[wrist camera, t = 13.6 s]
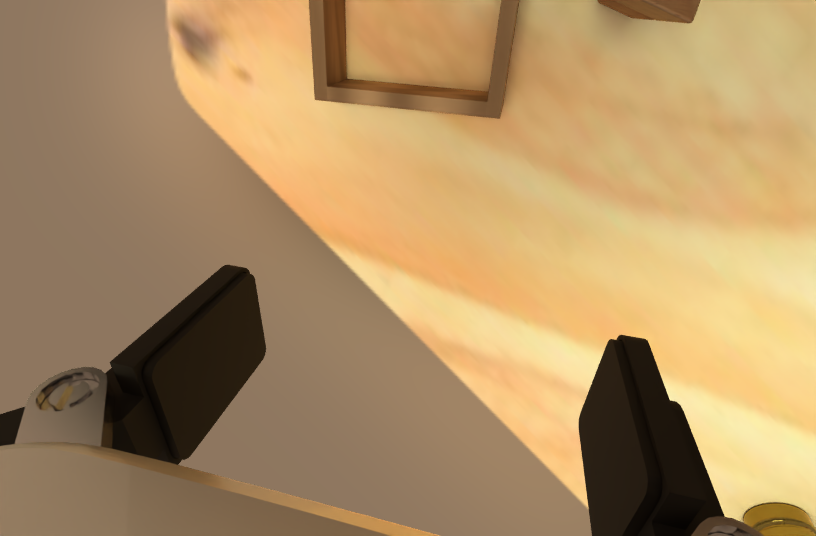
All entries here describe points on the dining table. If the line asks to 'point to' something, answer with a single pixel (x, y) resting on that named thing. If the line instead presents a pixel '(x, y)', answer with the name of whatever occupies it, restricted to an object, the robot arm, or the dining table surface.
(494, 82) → the square wooden frame
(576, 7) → the dining table surface
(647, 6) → the wooden block structure
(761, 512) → the olive green tiered piece
